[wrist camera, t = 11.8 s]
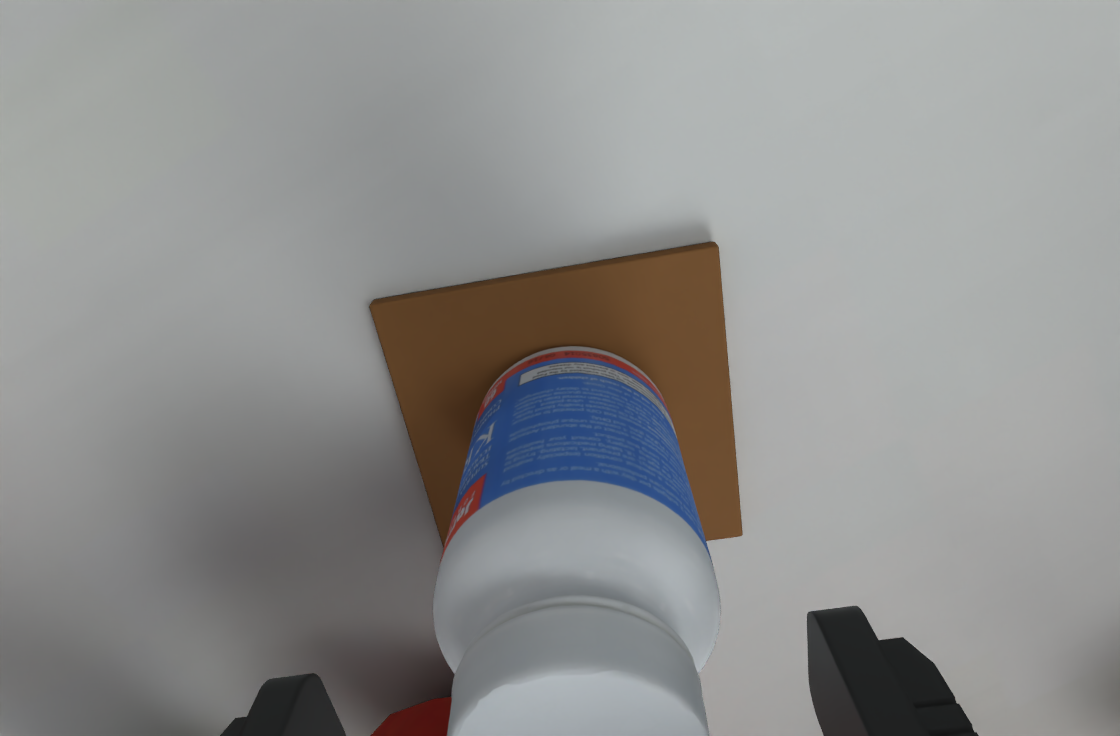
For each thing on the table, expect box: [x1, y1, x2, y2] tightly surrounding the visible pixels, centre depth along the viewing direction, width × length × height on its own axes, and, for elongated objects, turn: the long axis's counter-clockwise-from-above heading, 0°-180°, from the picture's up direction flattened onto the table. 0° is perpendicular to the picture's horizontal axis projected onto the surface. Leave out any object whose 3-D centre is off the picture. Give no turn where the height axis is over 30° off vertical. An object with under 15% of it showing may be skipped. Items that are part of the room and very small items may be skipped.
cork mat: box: [369, 242, 742, 547], centre depth 19 cm, size 9×9×1 cm
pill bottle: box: [433, 346, 721, 736], centre depth 14 cm, size 6×5×10 cm
